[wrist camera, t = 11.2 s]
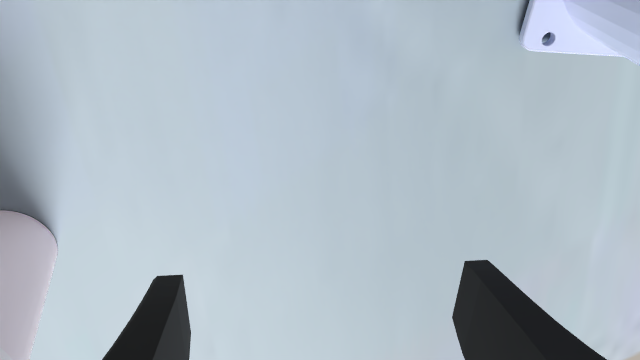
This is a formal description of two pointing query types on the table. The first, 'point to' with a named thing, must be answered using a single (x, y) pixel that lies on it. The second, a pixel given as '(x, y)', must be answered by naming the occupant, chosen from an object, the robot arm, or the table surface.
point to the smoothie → (23, 281)
